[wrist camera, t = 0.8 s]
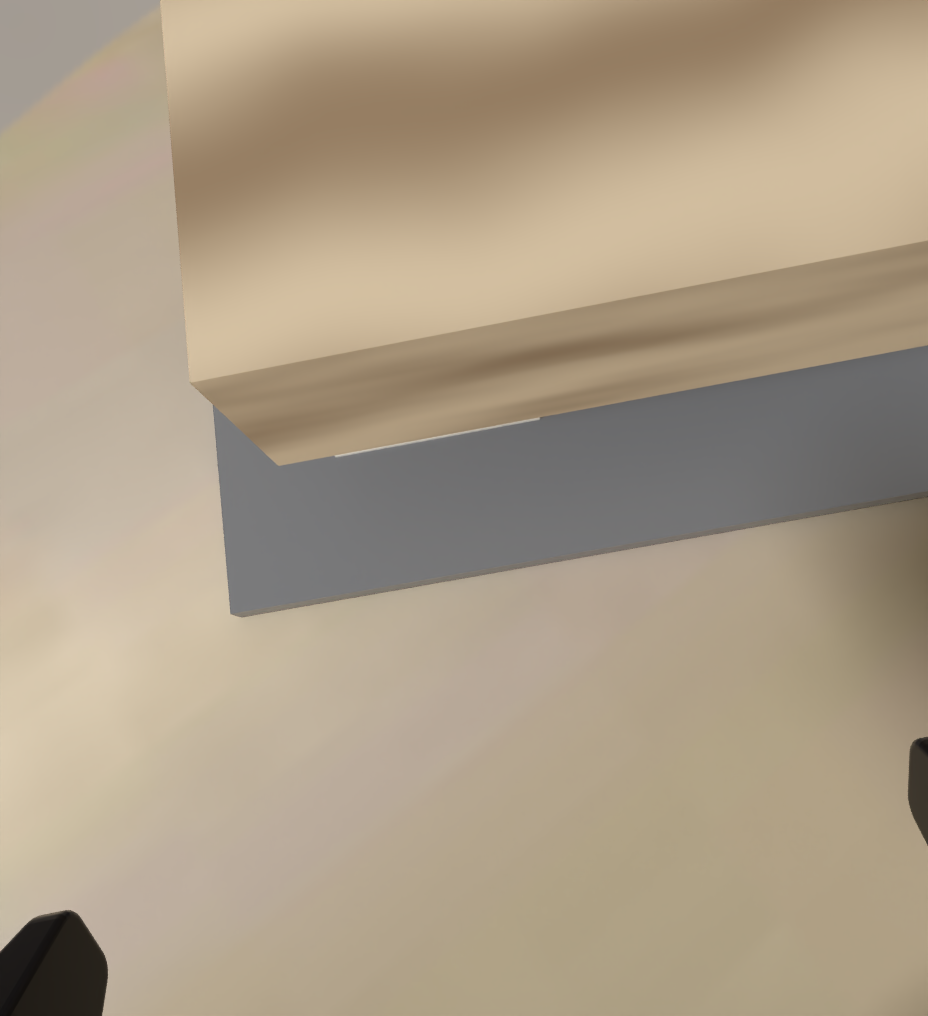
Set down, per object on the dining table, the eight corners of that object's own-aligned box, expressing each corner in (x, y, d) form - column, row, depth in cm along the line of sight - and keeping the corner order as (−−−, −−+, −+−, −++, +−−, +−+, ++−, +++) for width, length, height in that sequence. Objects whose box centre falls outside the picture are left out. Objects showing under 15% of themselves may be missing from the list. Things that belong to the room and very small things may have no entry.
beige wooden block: (1060, 374, 22) (1456, 107, 13) (324, 508, 23) (164, 359, 14) (956, 101, 25) (1222, -303, 15) (291, 234, 26) (135, -60, 16)
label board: (1165, 454, 22) (1192, 443, 21) (240, 617, 24) (228, 613, 23) (997, 40, 26) (1014, 15, 25) (204, 203, 27) (192, 184, 27)
